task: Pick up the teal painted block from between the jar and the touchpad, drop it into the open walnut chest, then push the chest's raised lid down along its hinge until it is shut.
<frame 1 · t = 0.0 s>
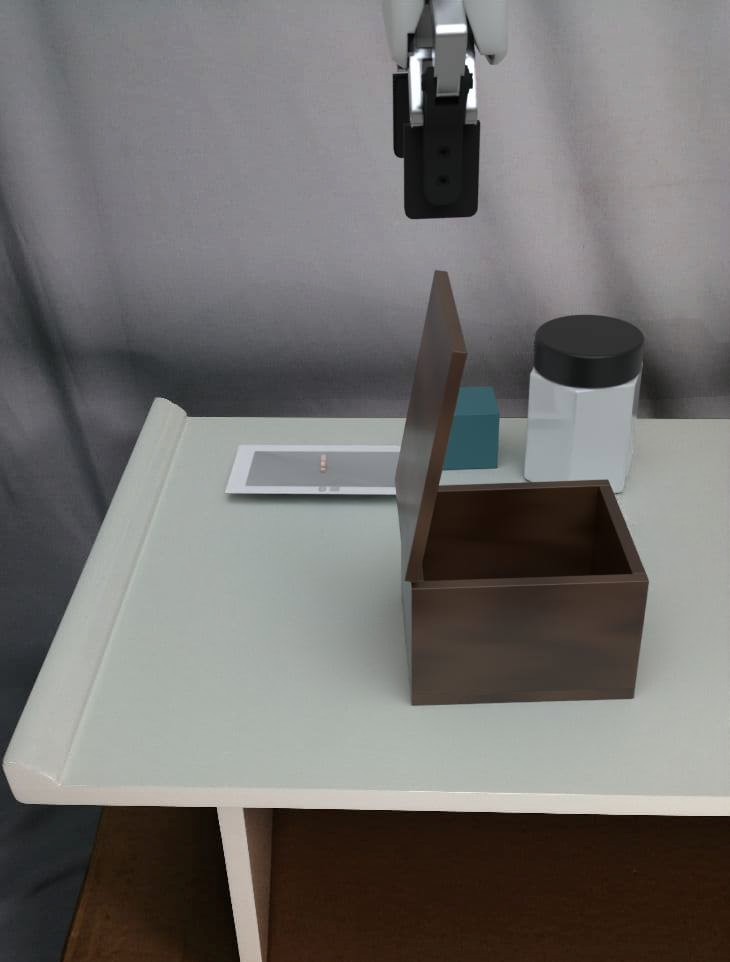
hand: (432, 183, 56), 32 cm above the table, tool pointing down, fingers open, 9 cm apart
block: (463, 454, 98), on the table
chest: (510, 643, 77), on the table
jar: (577, 475, 95), on the table
lid: (426, 424, 68), point 16 cm above the table, hinge at 80.0°
touchpad: (324, 482, 96), on the table
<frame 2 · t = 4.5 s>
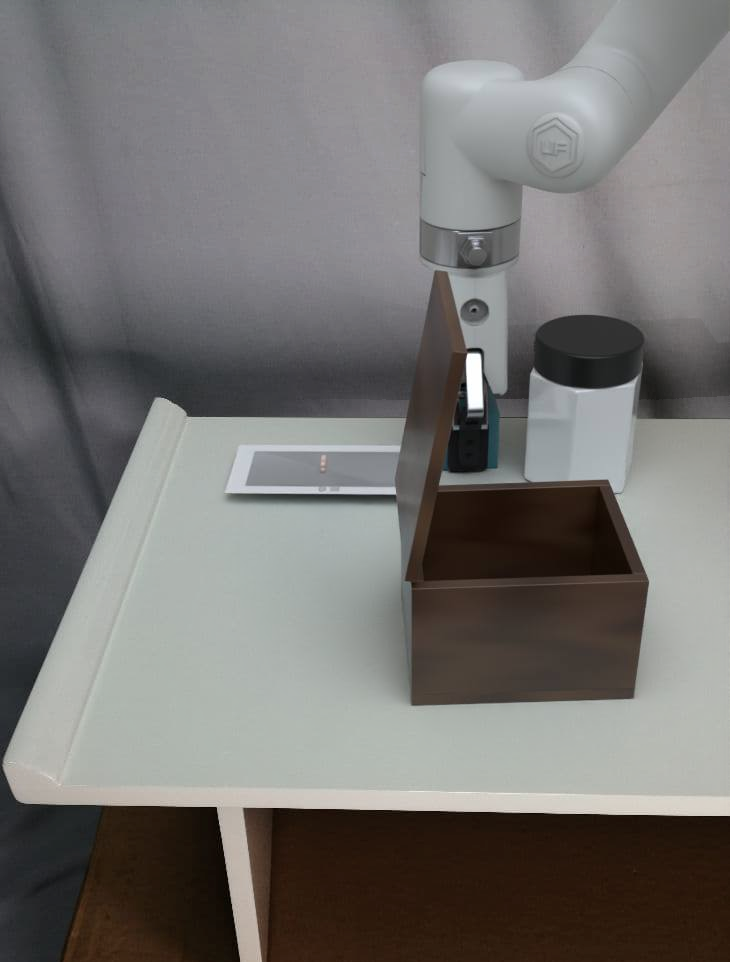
hand: (463, 449, 98), 0 cm above the table, tool pointing down, fingers closed on block, 5 cm apart
block: (463, 454, 98), on the table, touching gripper
everything else where it was.
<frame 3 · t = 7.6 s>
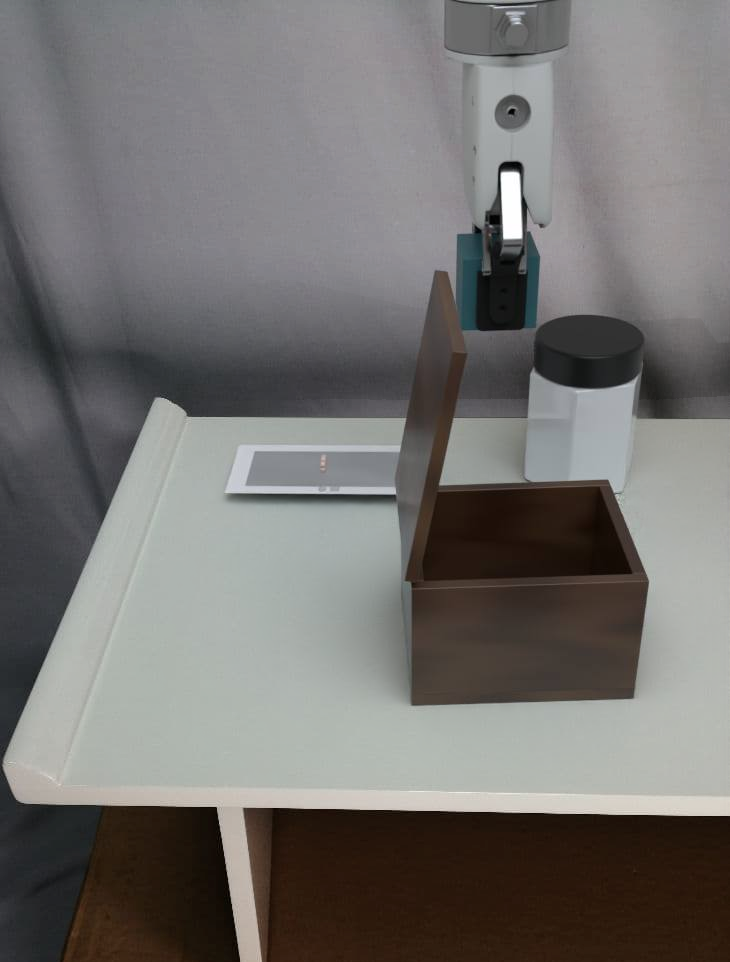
hand: (495, 309, 81), 17 cm above the table, tool pointing down, fingers closed on block, 5 cm apart
block: (494, 315, 81), point 16 cm above the table, touching gripper
everything else where it was.
when the fingers open (9 cm above the table, at t = 10.6 s): block drops 8 cm, resting on chest.
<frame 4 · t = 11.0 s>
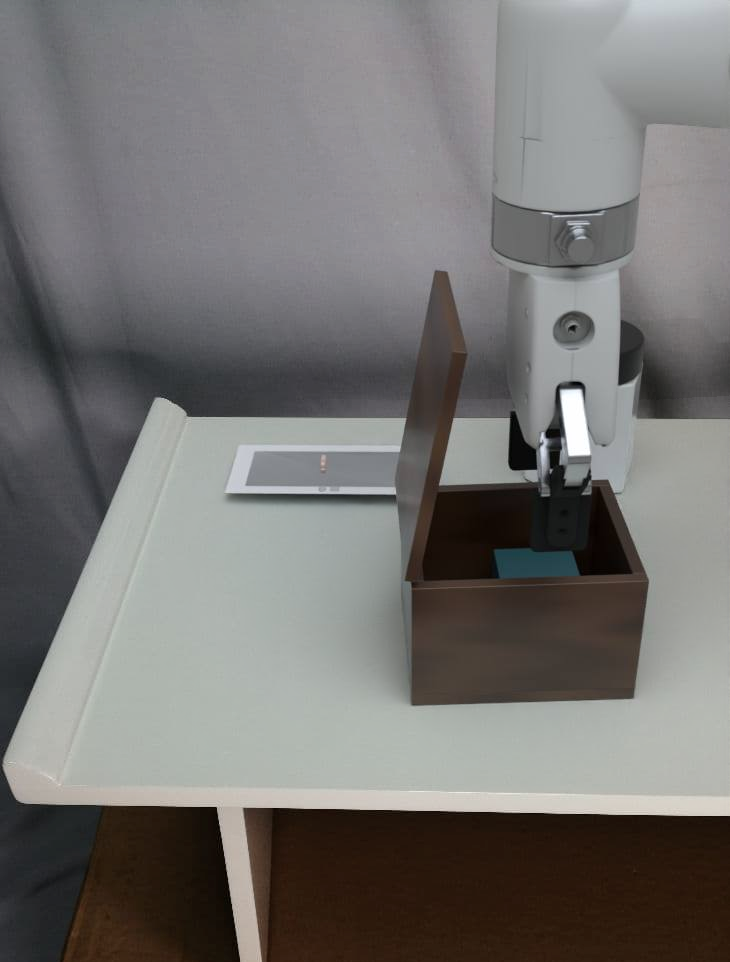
hand: (544, 505, 71), 10 cm above the table, tool pointing down, fingers open, 8 cm apart
block: (533, 632, 76), point 1 cm above the table, touching chest
everything else where it was.
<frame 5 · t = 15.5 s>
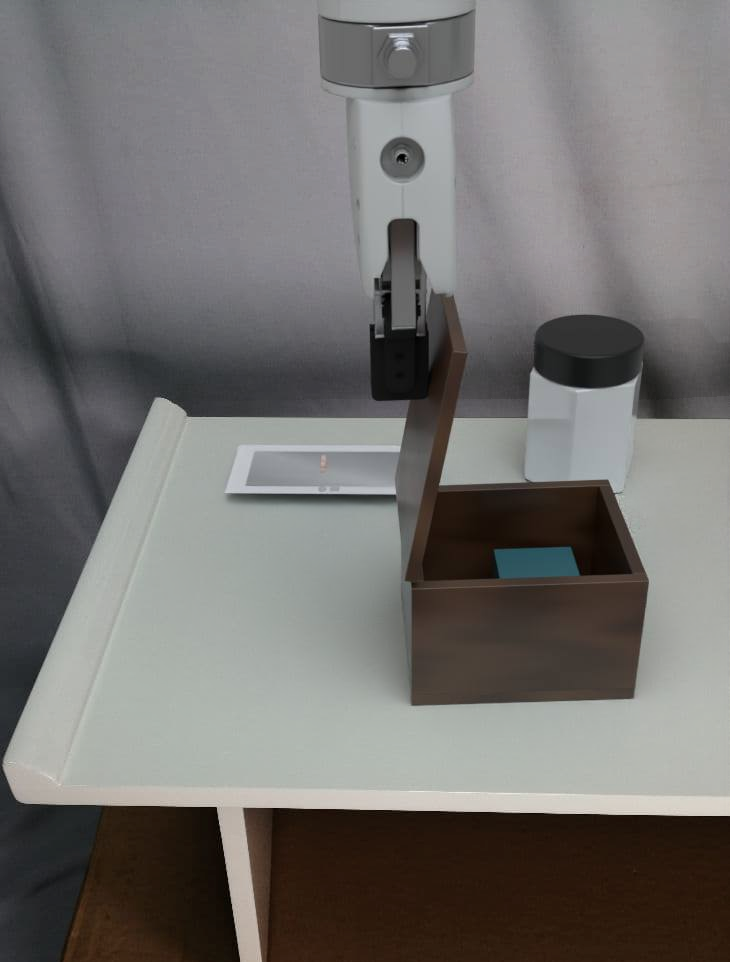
hand: (399, 393, 67), 18 cm above the table, tool pointing down, fingers closed
lid: (426, 424, 68), point 16 cm above the table, hinge at 79.9°, touching gripper
everything else where it was.
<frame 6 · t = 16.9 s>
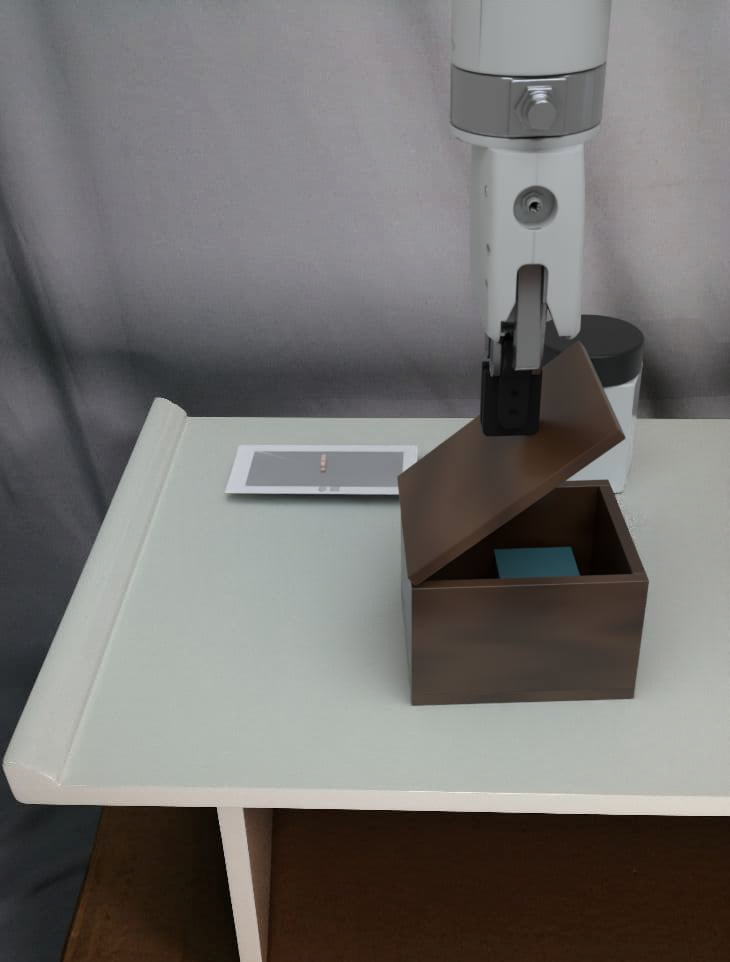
hand: (508, 428, 68), 16 cm above the table, tool pointing down, fingers closed
lid: (499, 459, 69), point 14 cm above the table, hinge at 39.3°, touching gripper
everything else where it was.
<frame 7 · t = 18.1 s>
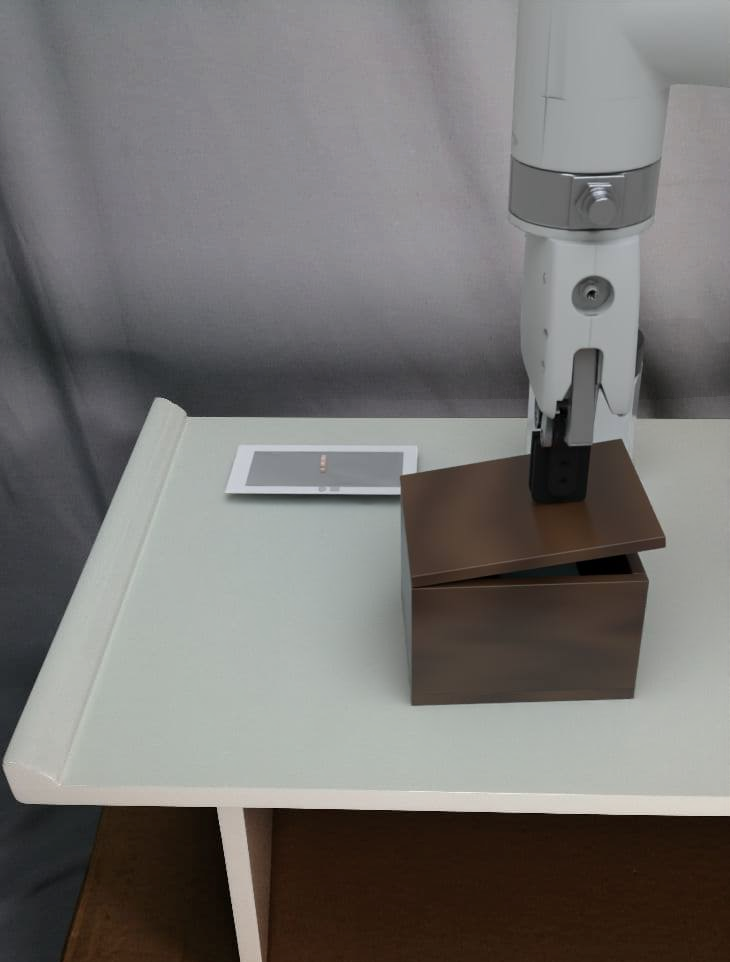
hand: (556, 494, 71), 11 cm above the table, tool pointing down, fingers closed
lid: (522, 508, 71), point 10 cm above the table, hinge at 8.6°, touching gripper
everything else where it was.
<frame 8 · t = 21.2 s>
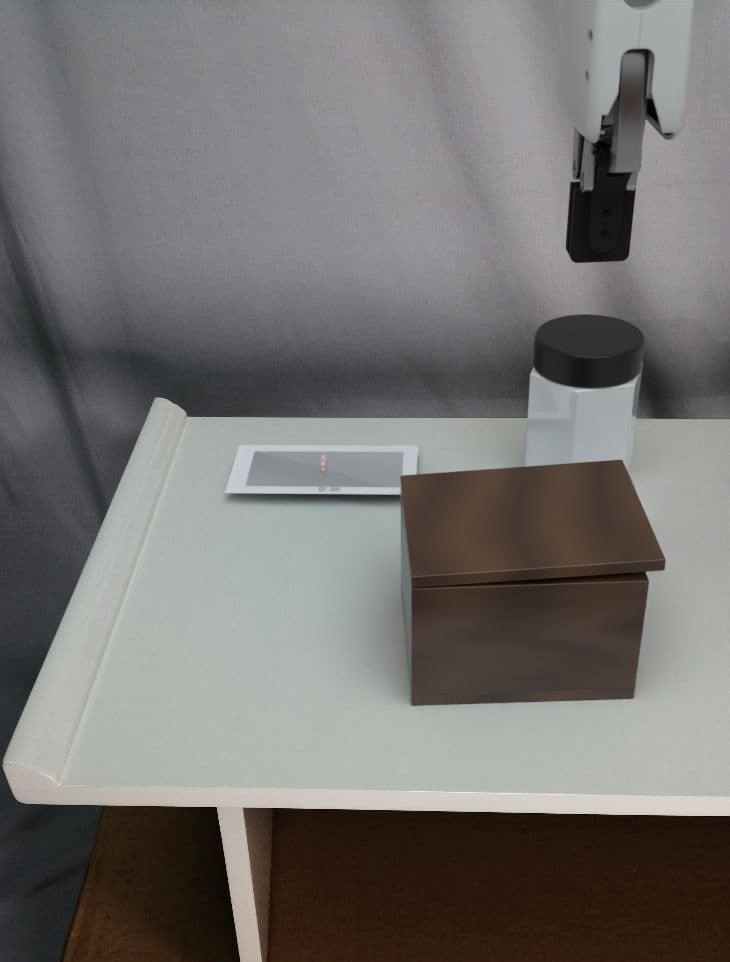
hand: (596, 256, 65), 25 cm above the table, tool pointing down, fingers closed
lid: (523, 519, 72), point 10 cm above the table, hinge at 2.4°
everything else where it was.
at the end: block inside the target area in the chest (1.5 cm from its centre), point 0.8 cm above the chest's base; lid at +2° (first picture: +80°) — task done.
